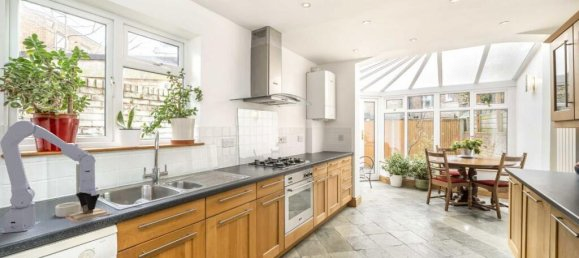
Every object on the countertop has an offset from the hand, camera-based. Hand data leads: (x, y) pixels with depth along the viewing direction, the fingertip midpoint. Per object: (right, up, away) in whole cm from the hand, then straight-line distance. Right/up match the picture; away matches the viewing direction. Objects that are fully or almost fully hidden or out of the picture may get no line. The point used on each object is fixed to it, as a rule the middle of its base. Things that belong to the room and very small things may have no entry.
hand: (88, 208), depth 120 cm
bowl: (-11, -3, +2) cm, 12 cm away
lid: (0, -3, 0) cm, 3 cm away
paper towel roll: (-18, -3, +22) cm, 29 cm away
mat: (0, -3, 0) cm, 3 cm away
